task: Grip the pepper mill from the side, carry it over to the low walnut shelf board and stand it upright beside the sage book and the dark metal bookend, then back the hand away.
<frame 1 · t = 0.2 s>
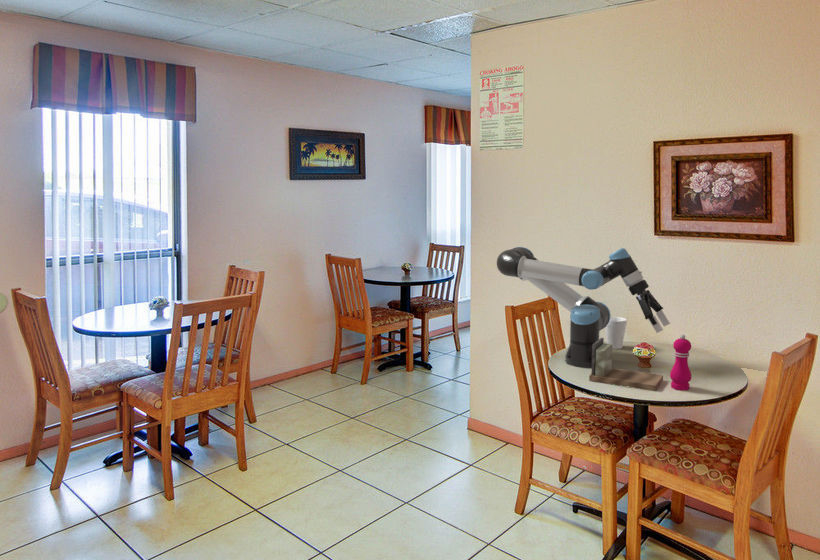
hand: (663, 328, 259), 15 cm above the table, tool tilted 35°, fingers open, 13 cm apart
pepper mill: (680, 388, 232), on the table
foam cup: (614, 347, 288), on the table
shelf board: (626, 380, 241), on the table
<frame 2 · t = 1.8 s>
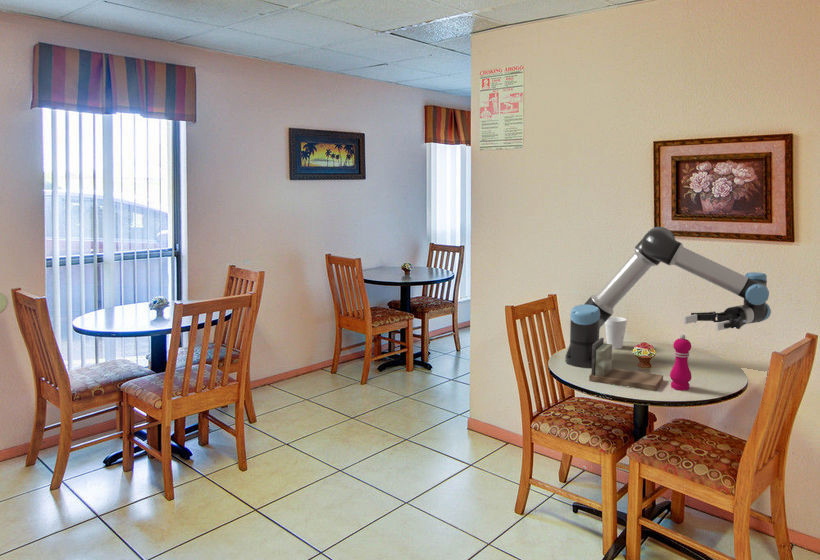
hand: (700, 323, 233), 23 cm above the table, tool horizontal, fingers open, 13 cm apart
nothing on the table moved.
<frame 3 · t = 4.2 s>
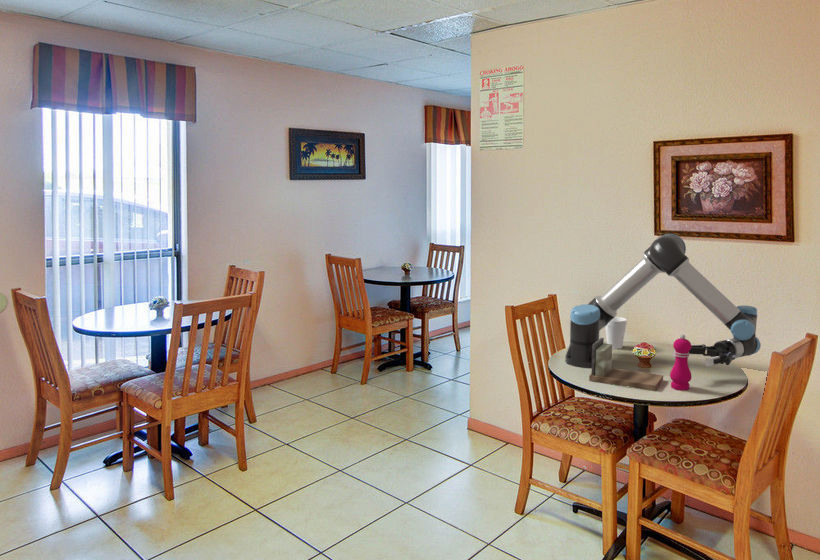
hand: (689, 358, 232), 11 cm above the table, tool horizontal, fingers open, 13 cm apart
nothing on the table moved.
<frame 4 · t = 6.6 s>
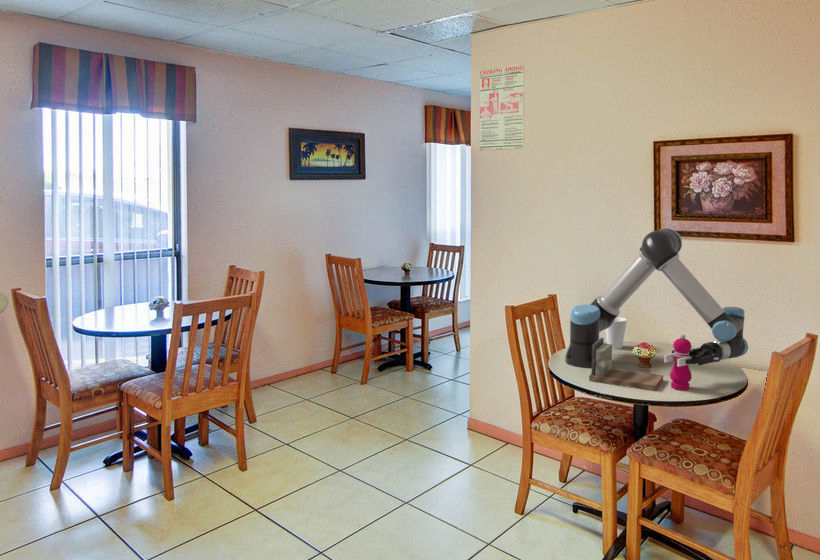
hand: (671, 360, 228), 11 cm above the table, tool horizontal, fingers closed on pepper mill, 5 cm apart
pepper mill: (680, 388, 232), on the table, touching gripper
everything else where it was.
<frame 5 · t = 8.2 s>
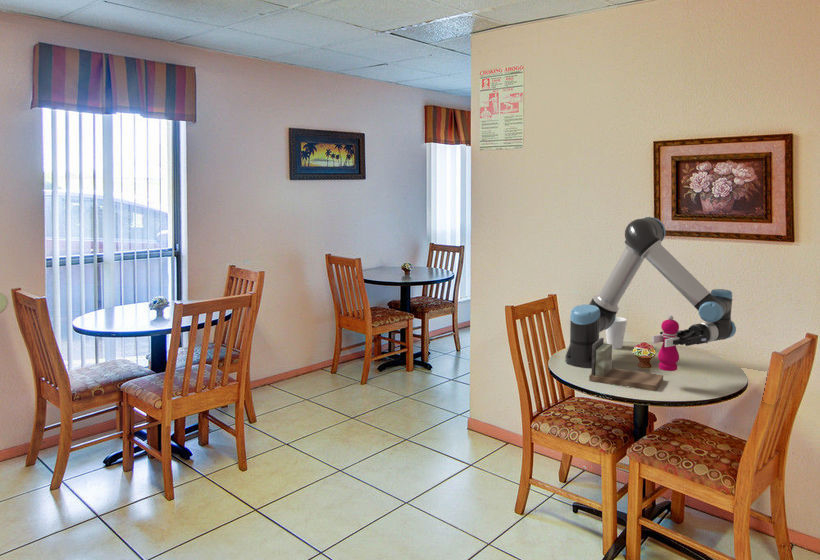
hand: (659, 341, 229), 18 cm above the table, tool horizontal, fingers closed on pepper mill, 5 cm apart
pepper mill: (667, 369, 233), point 6 cm above the table, touching gripper
everything else where it was.
when the fingers open (14 cm above the table, at t = 9.8 s): pepper mill drops 1 cm, resting on shelf board.
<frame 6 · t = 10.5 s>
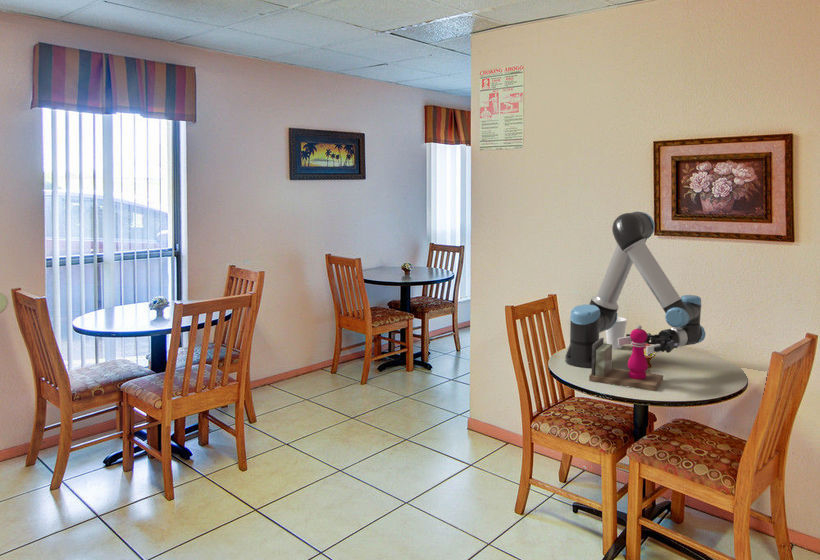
hand: (632, 346, 235), 14 cm above the table, tool horizontal, fingers open, 13 cm apart
pepper mill: (637, 377, 239), point 2 cm above the table, touching shelf board
everything else where it was.
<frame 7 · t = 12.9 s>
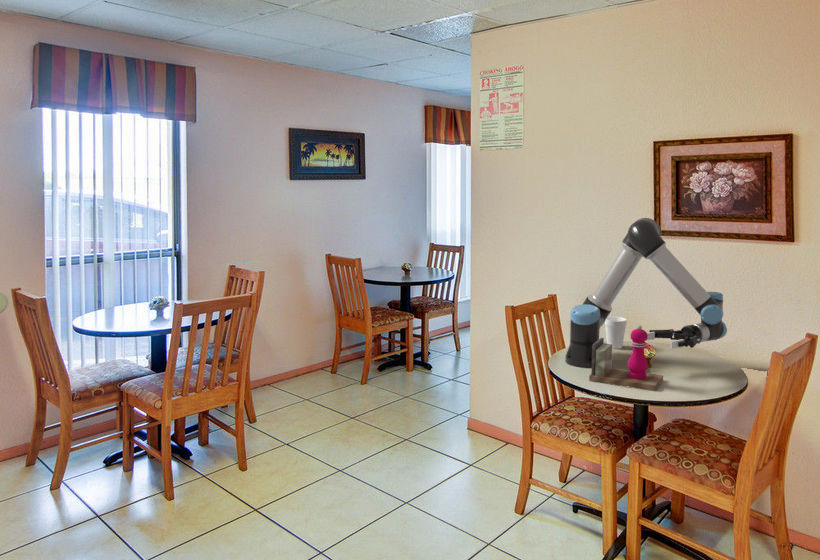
hand: (656, 341, 241), 15 cm above the table, tool horizontal, fingers open, 13 cm apart
nothing on the table moved.
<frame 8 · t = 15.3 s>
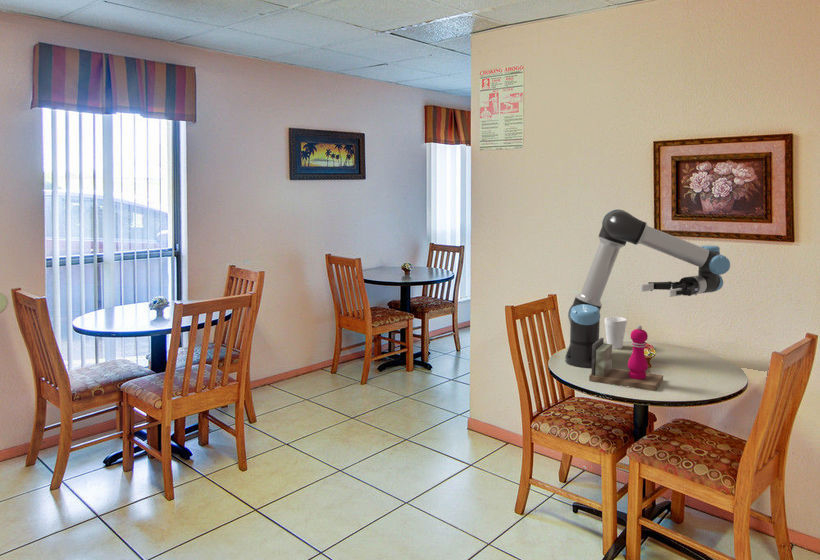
hand: (655, 290, 249), 32 cm above the table, tool horizontal, fingers open, 13 cm apart
nothing on the table moved.
at the end: pepper mill inside the target area (0.1 cm from its centre), point 1.8 cm above the table; pepper mill tilted 0°; the gripper is holding nothing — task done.
